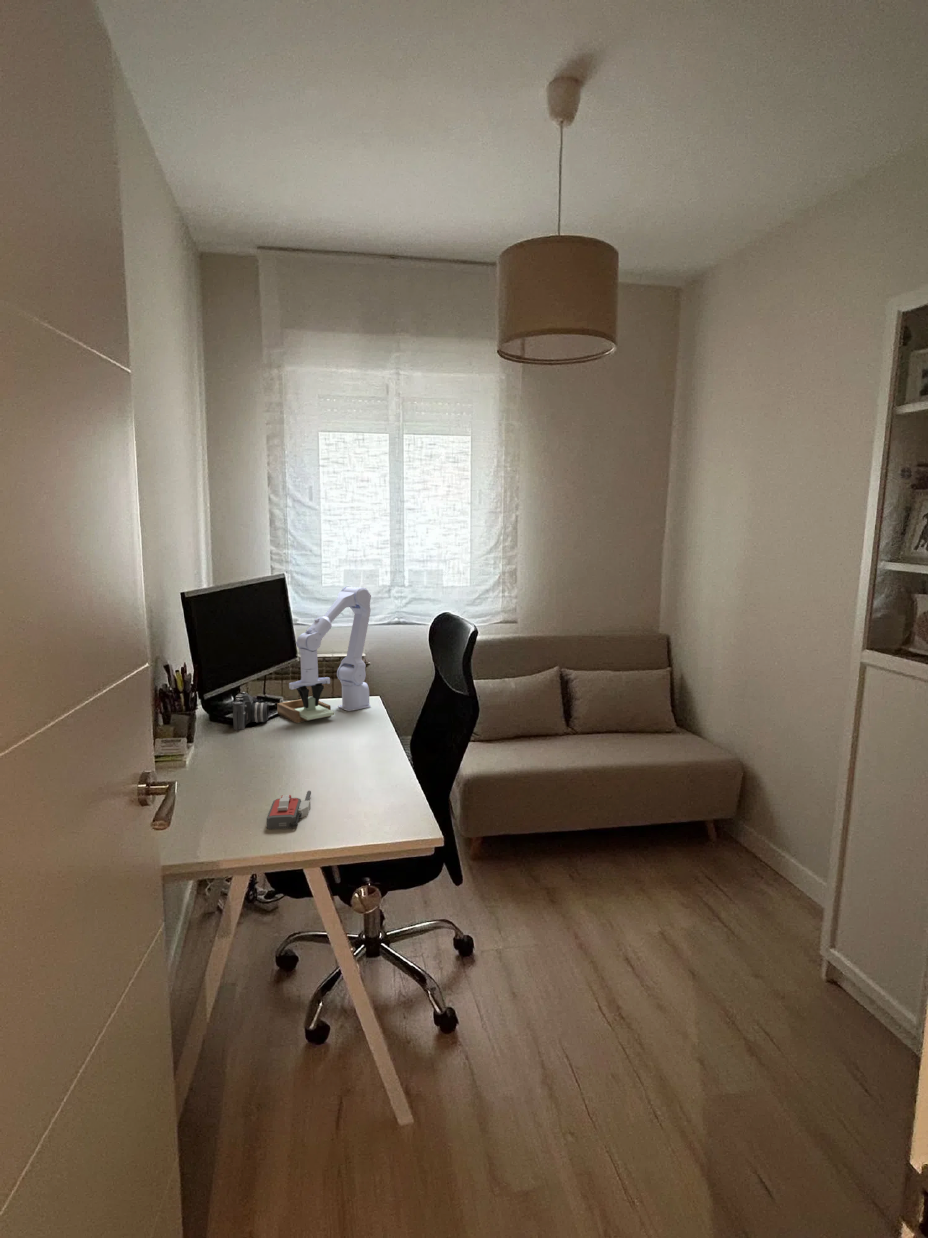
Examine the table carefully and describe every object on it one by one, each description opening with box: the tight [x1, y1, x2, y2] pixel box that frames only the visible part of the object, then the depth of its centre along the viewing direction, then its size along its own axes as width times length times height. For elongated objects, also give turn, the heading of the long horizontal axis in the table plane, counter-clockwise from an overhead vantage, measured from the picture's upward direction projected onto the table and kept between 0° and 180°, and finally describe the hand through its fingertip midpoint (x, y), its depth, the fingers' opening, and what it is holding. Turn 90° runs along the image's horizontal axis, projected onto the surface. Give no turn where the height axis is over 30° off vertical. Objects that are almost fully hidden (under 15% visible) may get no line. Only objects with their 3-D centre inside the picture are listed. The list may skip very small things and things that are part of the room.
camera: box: [232, 691, 270, 731], centre depth 242 cm, size 14×11×10 cm
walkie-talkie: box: [266, 790, 312, 830], centre depth 169 cm, size 9×4×20 cm
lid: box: [295, 695, 336, 721], centre depth 247 cm, size 10×12×5 cm
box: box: [276, 698, 332, 724], centre depth 252 cm, size 13×15×4 cm
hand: (310, 706), depth 248 cm, fingers closed on lid, 3 cm apart
